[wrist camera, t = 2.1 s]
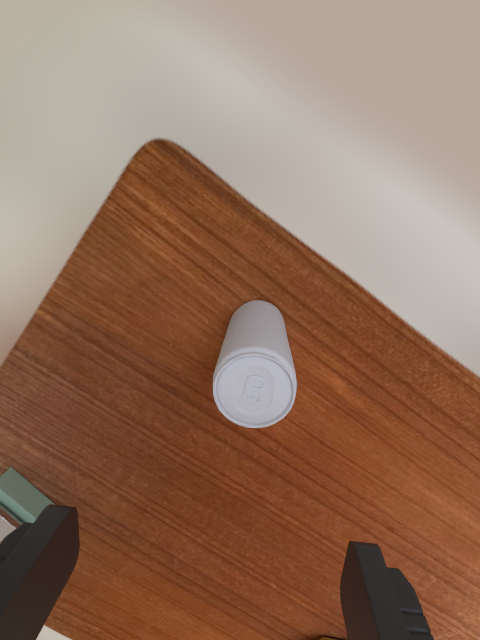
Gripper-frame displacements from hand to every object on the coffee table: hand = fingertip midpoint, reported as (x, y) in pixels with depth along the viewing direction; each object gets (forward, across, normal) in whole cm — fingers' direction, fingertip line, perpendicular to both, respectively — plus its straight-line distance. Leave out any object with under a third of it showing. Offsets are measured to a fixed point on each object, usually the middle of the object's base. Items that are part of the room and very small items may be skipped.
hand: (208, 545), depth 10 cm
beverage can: (+22, -1, 0) cm, 22 cm away
